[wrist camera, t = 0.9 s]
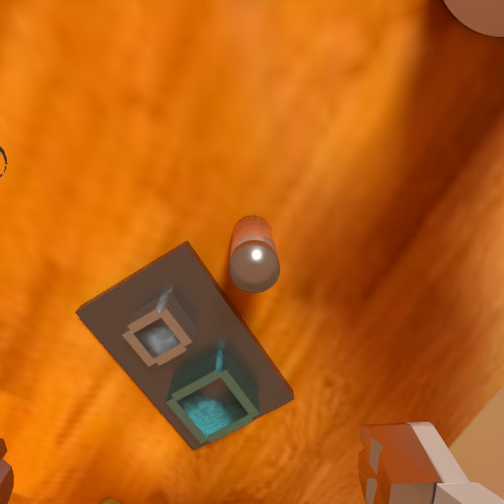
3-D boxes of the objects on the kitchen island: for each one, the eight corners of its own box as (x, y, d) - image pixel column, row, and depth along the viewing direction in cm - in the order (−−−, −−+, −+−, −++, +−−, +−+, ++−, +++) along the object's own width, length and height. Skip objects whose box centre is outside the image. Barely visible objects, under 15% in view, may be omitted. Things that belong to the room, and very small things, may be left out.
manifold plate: (187, 240, 40) (180, 254, 36) (292, 390, 46) (297, 417, 42) (80, 305, 42) (62, 326, 38) (195, 440, 48) (190, 471, 44)
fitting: (258, 208, 39) (263, 236, 30) (278, 240, 40) (289, 277, 31) (225, 228, 40) (219, 262, 30) (245, 259, 41) (246, 301, 31)
